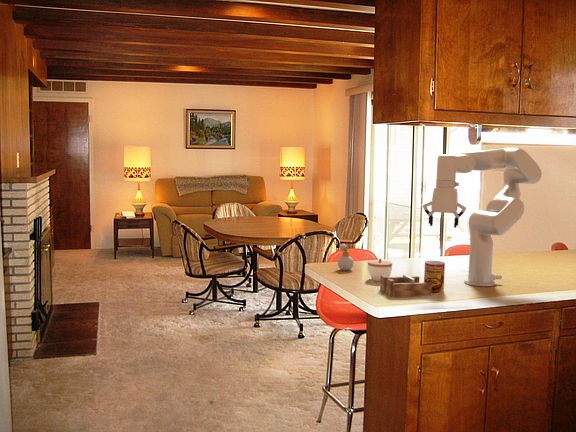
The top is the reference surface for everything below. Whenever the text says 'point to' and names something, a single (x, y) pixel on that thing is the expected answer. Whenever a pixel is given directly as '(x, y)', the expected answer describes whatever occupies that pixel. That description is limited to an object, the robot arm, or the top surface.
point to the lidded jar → (379, 269)
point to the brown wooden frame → (404, 287)
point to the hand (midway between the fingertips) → (443, 226)
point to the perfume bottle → (345, 259)
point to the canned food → (435, 275)
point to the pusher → (408, 279)
